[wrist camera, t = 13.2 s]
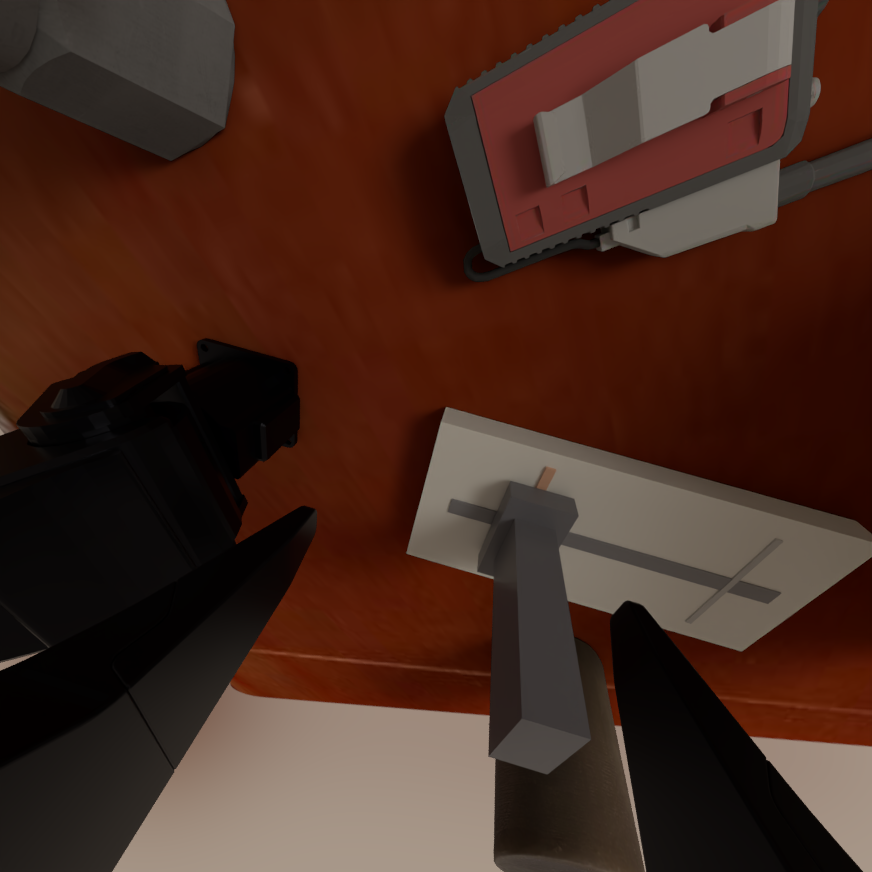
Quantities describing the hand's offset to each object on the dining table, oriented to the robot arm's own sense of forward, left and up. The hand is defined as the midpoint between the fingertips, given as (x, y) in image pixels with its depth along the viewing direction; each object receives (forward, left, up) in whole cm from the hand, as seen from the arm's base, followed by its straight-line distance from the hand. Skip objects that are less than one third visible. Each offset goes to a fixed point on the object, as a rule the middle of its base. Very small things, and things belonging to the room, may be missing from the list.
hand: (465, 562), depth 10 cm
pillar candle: (+14, -26, -13) cm, 32 cm away
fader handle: (+5, -8, -11) cm, 14 cm away
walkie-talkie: (+4, +13, -14) cm, 19 cm away
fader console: (+11, -8, -13) cm, 19 cm away
